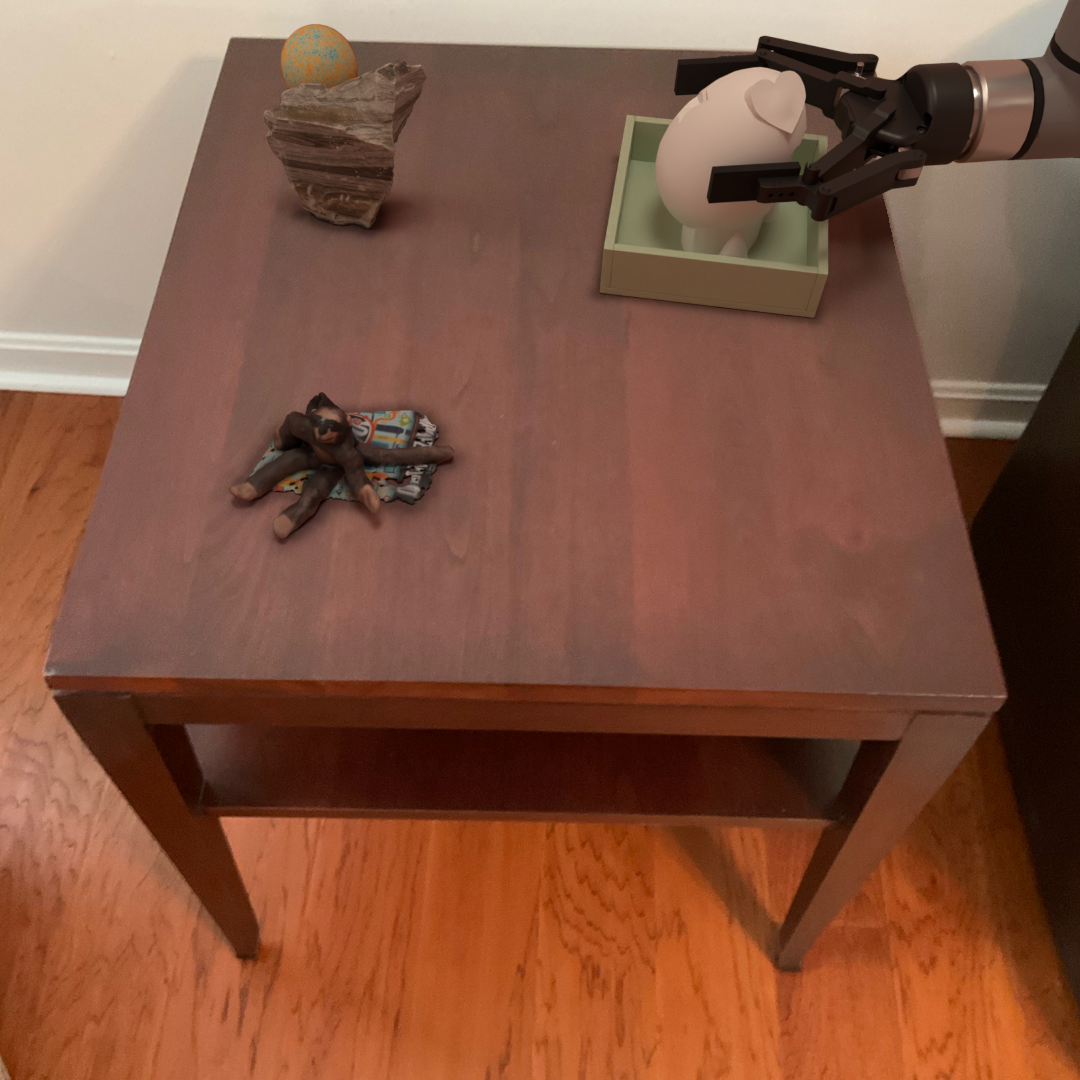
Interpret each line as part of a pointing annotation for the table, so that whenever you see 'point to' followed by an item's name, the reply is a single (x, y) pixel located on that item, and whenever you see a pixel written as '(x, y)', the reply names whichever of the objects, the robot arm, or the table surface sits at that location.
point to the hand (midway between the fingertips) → (692, 129)
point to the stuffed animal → (344, 459)
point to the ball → (317, 57)
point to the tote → (675, 275)
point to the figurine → (728, 154)
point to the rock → (344, 140)
